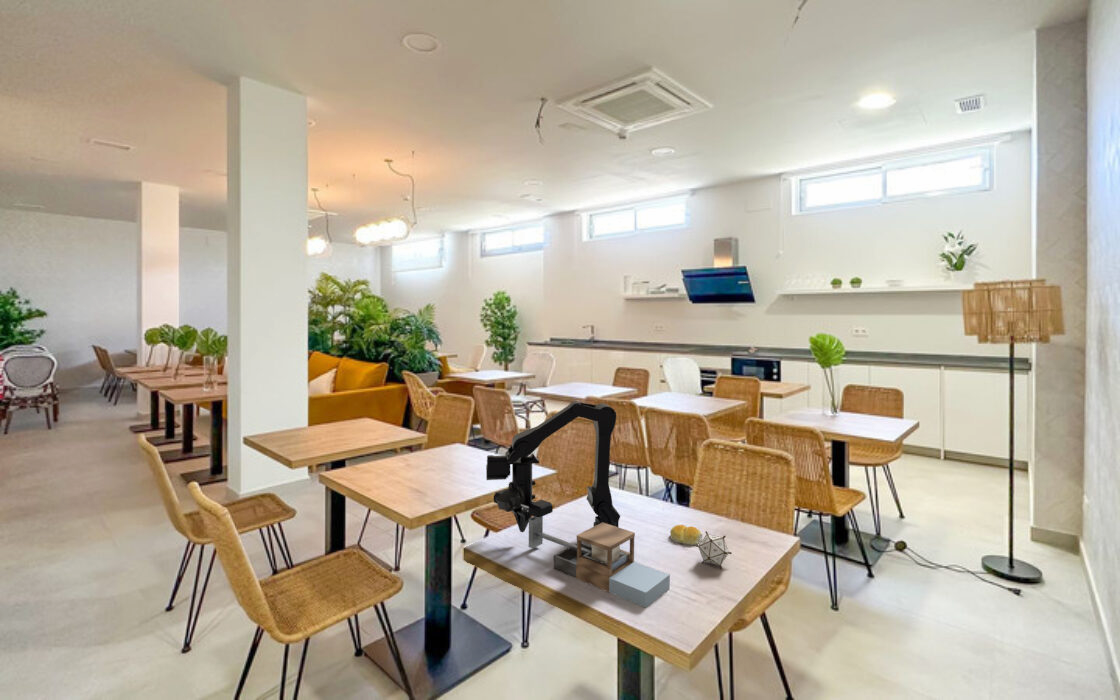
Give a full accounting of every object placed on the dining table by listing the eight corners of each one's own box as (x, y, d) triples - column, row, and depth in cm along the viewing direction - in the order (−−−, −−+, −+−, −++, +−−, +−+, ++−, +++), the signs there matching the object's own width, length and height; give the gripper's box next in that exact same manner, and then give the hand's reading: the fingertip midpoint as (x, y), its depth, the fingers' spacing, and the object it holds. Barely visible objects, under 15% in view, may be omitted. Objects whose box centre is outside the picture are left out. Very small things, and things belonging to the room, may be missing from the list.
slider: (523, 549, 143) (523, 521, 142) (543, 539, 149) (543, 512, 149) (609, 584, 124) (609, 552, 124) (628, 572, 130) (628, 541, 130)
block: (591, 563, 129) (591, 544, 129) (603, 556, 133) (603, 537, 133) (607, 569, 126) (608, 550, 126) (619, 562, 130) (619, 543, 130)
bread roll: (675, 531, 159) (675, 518, 158) (704, 538, 154) (704, 525, 154) (665, 541, 152) (665, 527, 152) (695, 548, 147) (695, 534, 147)
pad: (609, 592, 123) (609, 577, 122) (634, 575, 131) (634, 561, 131) (645, 607, 116) (646, 592, 116) (669, 588, 124) (669, 574, 124)
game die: (713, 581, 135) (707, 560, 130) (693, 557, 142) (686, 537, 137) (740, 561, 137) (735, 540, 132) (718, 539, 144) (713, 518, 138)
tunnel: (553, 568, 134) (553, 527, 133) (579, 554, 142) (580, 515, 142) (609, 592, 123) (609, 547, 122) (634, 575, 131) (634, 532, 130)
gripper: (479, 478, 148) (479, 531, 149) (526, 492, 136) (525, 550, 137) (507, 469, 156) (507, 520, 157) (554, 482, 144) (553, 537, 145)
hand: (522, 531), depth 149 cm, fingers closed
